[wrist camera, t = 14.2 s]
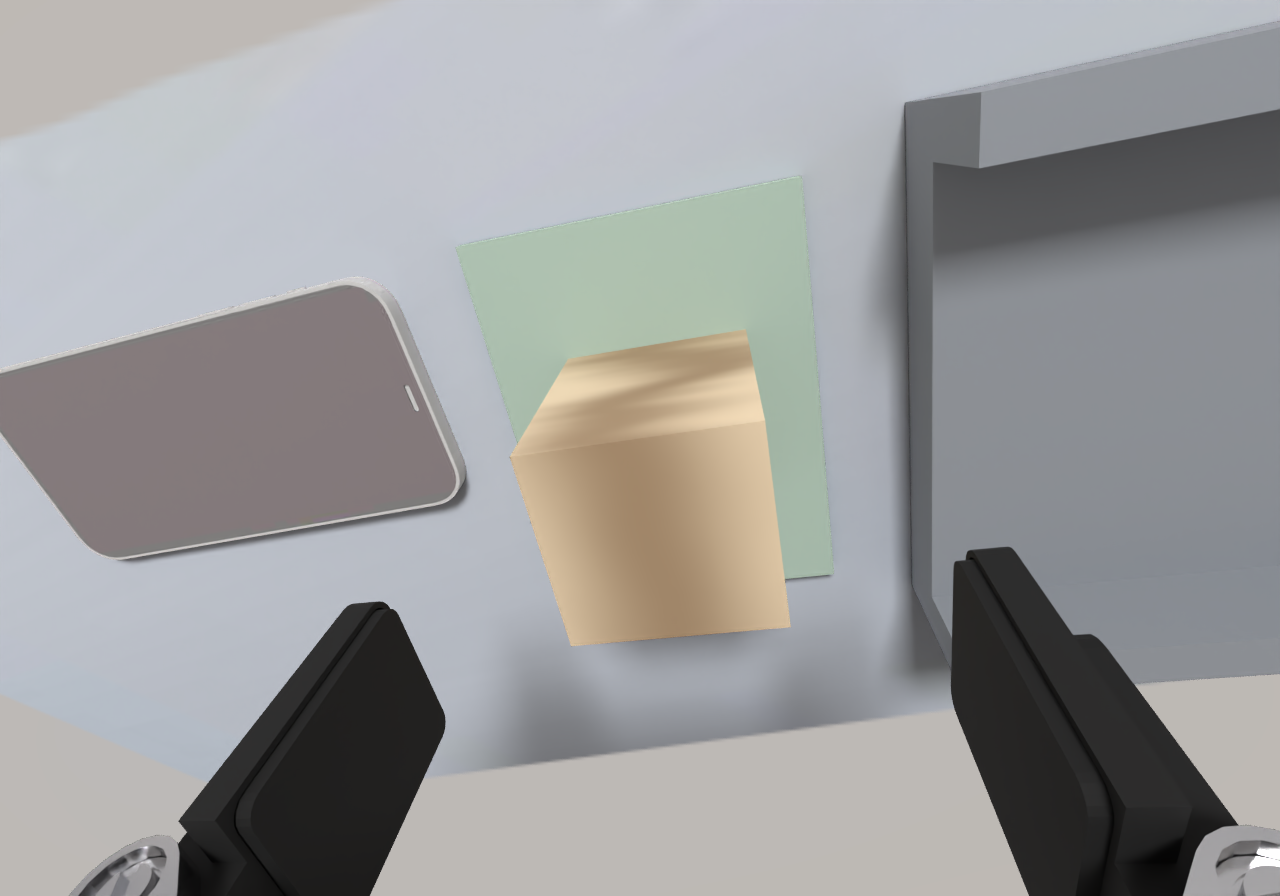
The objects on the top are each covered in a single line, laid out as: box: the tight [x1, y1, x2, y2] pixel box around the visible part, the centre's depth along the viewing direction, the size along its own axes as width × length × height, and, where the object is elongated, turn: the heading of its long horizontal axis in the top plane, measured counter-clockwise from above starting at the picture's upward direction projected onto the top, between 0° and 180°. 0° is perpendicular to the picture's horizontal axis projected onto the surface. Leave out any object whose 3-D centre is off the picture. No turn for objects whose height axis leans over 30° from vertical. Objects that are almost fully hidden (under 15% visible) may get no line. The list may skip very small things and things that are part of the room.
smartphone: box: [0, 277, 466, 560], centre depth 20 cm, size 7×1×15 cm
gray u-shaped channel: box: [905, 21, 1280, 684], centre depth 15 cm, size 12×14×4 cm
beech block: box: [510, 329, 791, 646], centre depth 16 cm, size 5×5×6 cm
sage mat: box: [456, 176, 834, 579], centre depth 19 cm, size 9×12×1 cm
